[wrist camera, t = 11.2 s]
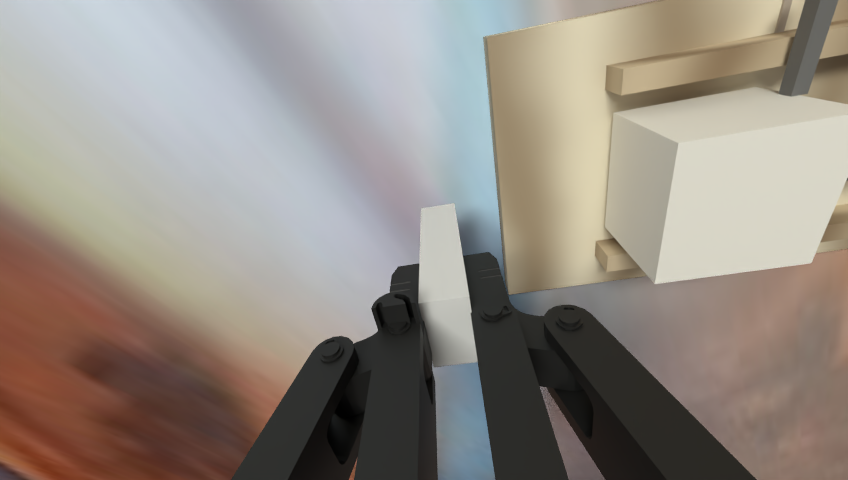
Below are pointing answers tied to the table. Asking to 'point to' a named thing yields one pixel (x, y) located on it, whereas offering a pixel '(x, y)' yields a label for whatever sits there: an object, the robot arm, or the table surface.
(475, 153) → the table surface
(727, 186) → the white block with rods
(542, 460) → the robot arm
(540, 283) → the board
